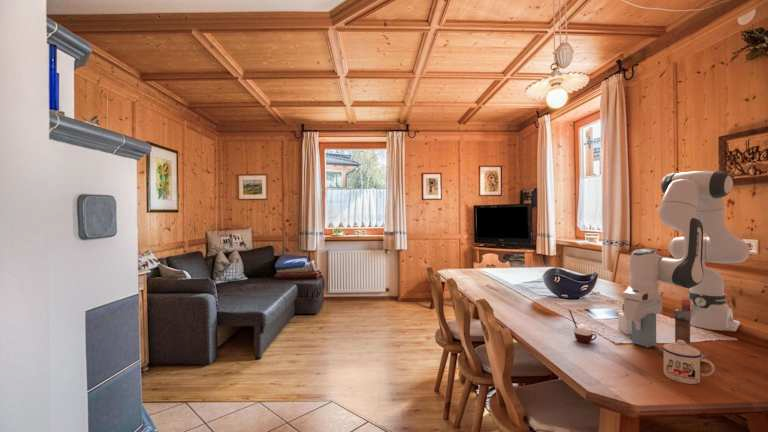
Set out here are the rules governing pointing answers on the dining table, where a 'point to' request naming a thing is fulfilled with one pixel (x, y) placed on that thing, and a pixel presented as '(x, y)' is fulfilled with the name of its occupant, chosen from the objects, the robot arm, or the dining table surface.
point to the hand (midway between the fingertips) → (643, 327)
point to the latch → (686, 310)
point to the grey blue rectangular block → (645, 331)
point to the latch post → (682, 335)
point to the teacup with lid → (683, 363)
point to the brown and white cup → (582, 332)
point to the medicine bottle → (624, 323)
